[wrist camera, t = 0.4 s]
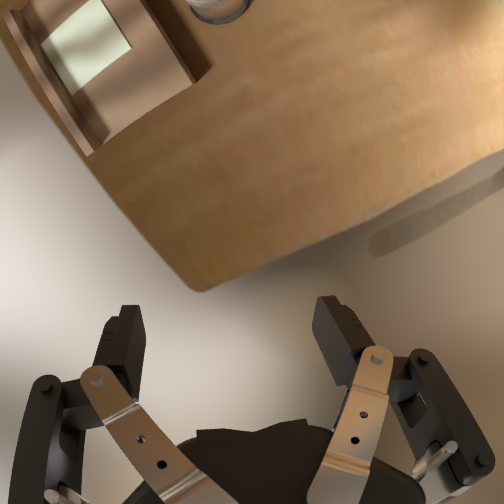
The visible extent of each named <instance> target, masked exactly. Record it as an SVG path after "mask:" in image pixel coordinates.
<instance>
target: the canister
mask: <svg viewBox="0 0 504 504" xmlns="http://www.w3.org/2000/svg"><path fill="white" fill-rule="evenodd" d="M185 1H186V2H187V3H188V4H189V5H190V9H191V11H192V12H193V14H194V15H195V16H196V17H197V18H198V19H200V20H201V21H203V22H206V23H209V24H216V25H218V24H226V23H229V22H232V21H234V20H235V19H237V18H238V17H240V16H241V15H242V14H243V12H244V11H245V9H246V7H247V4H248V0H185Z"/></svg>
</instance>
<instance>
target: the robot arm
mask: <svg viewBox="0 0 504 504" xmlns="http://www.w3.org/2000/svg"><path fill="white" fill-rule="evenodd" d="M312 330H313V334H314V337H315V339H316V341H317V343H318V345H319V348H320V350H321V352H322V354H323V356H324V358H325V361H326V363H327V365H328V367H329V369H330V372H331V374H332V376H333V378H334V380H335V383H336V385H337V386H341V385H346V386H347V388H348V389H347V391H346V394H345V396H344V399H343V402H342V404H341V407H340V409H339V412H338V414H337V417H336V419H335V421H334V424H333V426H332V428H331V430H328V429H326V428H322V427H318V426H312V425H308V423H307V420H306V419H299V420H294V421H287V422H280V423H278V424H275V425H272V426H269V427H267V428H264V429H261V430H258V431H255V432H248V431H239V430H232V429H224V428H223V429H205V430H196V431H197V432H196V433H197V437H195V438H191V439H189V440H186V441H184V442H182V443H180V444H178V445H177V446H175V445H174V444H173V443H172V442H171V440H170V439H169V438H168V437H167V436H166V435H165V434H164V433H163V432H162V431H161V429H160V428H159V427H158V426H157V425H156V424H155V422H154V421H153V420H152V419H151V418H150V416H149V415H148V414H147V413H146V412H145V410H144V409H143V408H142V407H141V406H140V405H139V404H136V403H135V402H138V400H139V391H140V383H141V375H142V366H143V360H144V353H145V346H146V334H145V328H144V324H143V319H142V315H141V310H140V306H139V305H122V307H121V311H120V314H119V316H112V317H111V318H110V319H109V320H108V321H107V322H106V324H105V326H104V329H103V334H102V335H101V338H100V342H99V345H98V348H97V351H96V355H95V358H94V362H93V365H92V367H90V368H88V369H86V370H85V371H84V372H83V373H82V375H81V378H79V379H77V380H72V381H67V382H61V381H60V380H59V378H58V377H56V376H54V375H44V376H41V377H39V378H38V379H37V380H36V381H35V382H34V383H33V386H32V389H31V392H30V395H29V399H28V402H27V405H26V409H25V413H24V417H23V420H22V425H21V429H20V433H19V437H18V442H17V447H16V452H15V457H14V462H13V468H12V475H11V482H10V489H9V498H8V504H90V503H89V502H88V501H87V500H86V499H84V498H83V497H82V496H81V483H82V466H83V453H84V443H85V433H86V429H91V428H96V427H100V426H106V428H107V430H108V431H109V433H110V434H111V435H112V437H113V439H114V440H115V441H116V443H117V444H118V445H119V447H120V449H121V450H122V451H123V453H124V454H125V455H126V457H127V458H128V459H129V461H130V462H131V463H132V465H133V466H134V467H135V469H136V470H137V471H138V472H139V474H140V475H141V476H142V477H143V479H144V481H143V482H142V483H141V484H140V485H139V486H138V487H137V488H136V490H135V491H134V492H133V493H132V494H131V495H130V496H129V497H128V498H127V499H126V500H125V501H124V502H123V503H122V504H435V503H437V502H438V503H445V502H448V501H450V500H451V499H453V498H455V497H456V496H458V495H459V494H461V493H462V492H464V491H466V490H467V489H468V488H470V487H471V486H473V485H474V484H476V483H477V482H479V481H480V480H481V479H483V478H484V477H486V476H487V475H488V474H490V473H491V472H492V470H493V468H494V466H495V456H494V453H493V451H492V449H491V447H490V446H489V444H488V442H487V440H486V438H485V436H484V435H483V433H482V431H481V429H480V427H479V426H478V424H477V422H476V420H475V419H474V417H473V415H472V414H471V412H470V410H469V409H468V407H467V405H466V403H465V402H464V400H463V399H462V397H461V395H460V394H459V392H458V390H457V389H456V387H455V386H454V384H453V383H452V381H451V379H450V378H449V376H448V375H447V373H446V372H445V370H444V369H443V367H442V366H441V364H440V363H439V361H438V360H437V358H436V357H435V355H434V354H433V353H431V352H430V351H428V350H426V349H415V350H413V351H412V352H411V354H410V356H409V357H394V356H392V354H391V353H390V352H389V351H388V350H387V349H385V348H383V347H380V346H376V345H375V343H374V342H373V341H372V339H371V337H370V336H369V334H368V333H367V331H366V329H365V328H364V327H363V326H362V324H361V322H360V320H358V317H357V316H356V314H355V313H354V311H353V310H351V309H350V308H348V307H347V306H346V305H341V304H340V302H339V301H338V299H337V298H336V296H334V295H331V296H320V297H318V299H317V302H316V307H315V312H314V317H313V322H312ZM419 394H421V396H422V398H423V400H424V401H425V403H426V406H425V404H424V402H423V400H422V398H421V396H420V395H419ZM388 402H390V403H391V405H392V408H393V410H394V412H395V414H396V416H397V418H398V421H399V423H400V425H401V427H402V429H403V432H404V434H405V436H406V438H407V440H408V443H409V445H410V447H411V450H412V452H413V454H414V457H415V459H416V460H415V462H414V464H413V475H412V477H413V478H412V477H410V476H409V475H407V474H405V473H403V472H401V471H399V470H397V469H396V468H394V467H392V466H390V465H388V464H387V463H385V462H383V461H381V460H379V459H378V458H376V457H374V456H373V454H374V452H375V448H376V445H377V442H378V438H379V434H380V431H381V428H382V424H383V420H384V416H385V412H386V408H387V404H388Z"/></svg>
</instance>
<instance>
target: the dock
mask: <svg viewBox="0 0 504 504" xmlns="http://www.w3.org/2000/svg"><path fill="white" fill-rule="evenodd" d="M4 19H5V21H6V23H7V25H8V27H9V29H10V31H11V33H12V35H13V37H14V39H15V41H16V43H17V45H18V47H19V48H20V50H21V52H22V54H23V56H24V57H25V59H26V61H27V63H28V65H29V66H30V68H31V70H32V72H33V73H34V75H35V77H36V78H37V80H38V82H39V83H40V85H41V87H42V88H43V90H44V92H45V93H46V95H47V97H48V98H49V100H50V101H51V103H52V105H53V106H54V108H55V109H56V111H57V113H58V114H59V116H60V117H61V119H62V120H63V122H64V123H65V125H66V126H67V128H68V130H69V131H70V133H71V134H72V136H73V137H74V139H75V140H76V141H77V143H78V144H79V146H80V147H81V149H82V150H83V152H84V153H85V155H86V156H89V155H90V154H91V153H92V152H94V151H95V150H96V149H98V148H99V147H100V146H102V145H103V144H104V143H106V142H107V141H108V140H109V139H111V138H112V137H113V136H115V135H116V134H118V133H119V132H120V131H122V130H123V129H124V128H126V127H127V126H129V125H130V124H131V123H133V122H134V121H136V120H137V119H139V118H140V117H142V116H143V115H145V114H146V113H148V112H149V111H151V110H152V109H154V108H155V107H157V106H158V105H160V104H161V103H163V102H165V101H166V100H168V99H170V98H171V97H173V96H174V95H176V94H178V93H179V92H181V91H183V90H185V89H186V88H188V87H190V86H192V85H193V84H195V83H197V82H196V80H195V79H194V77H193V76H192V74H191V72H190V71H189V69H188V67H187V66H186V64H185V62H184V61H183V59H182V58H181V56H180V54H179V53H178V51H177V50H176V48H175V46H174V45H173V43H172V42H171V40H170V38H169V37H168V35H167V34H166V32H165V31H164V29H163V27H162V26H161V24H160V23H159V21H158V20H157V18H156V17H155V15H154V13H153V12H152V10H151V9H150V7H149V6H148V4H147V3H146V1H145V0H30V1H29V2H28V3H27V4H26V5H25V6H24V7H23V8H22V9H21V10H9V11H8V12H7V14H6V15H5V16H4Z"/></svg>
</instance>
